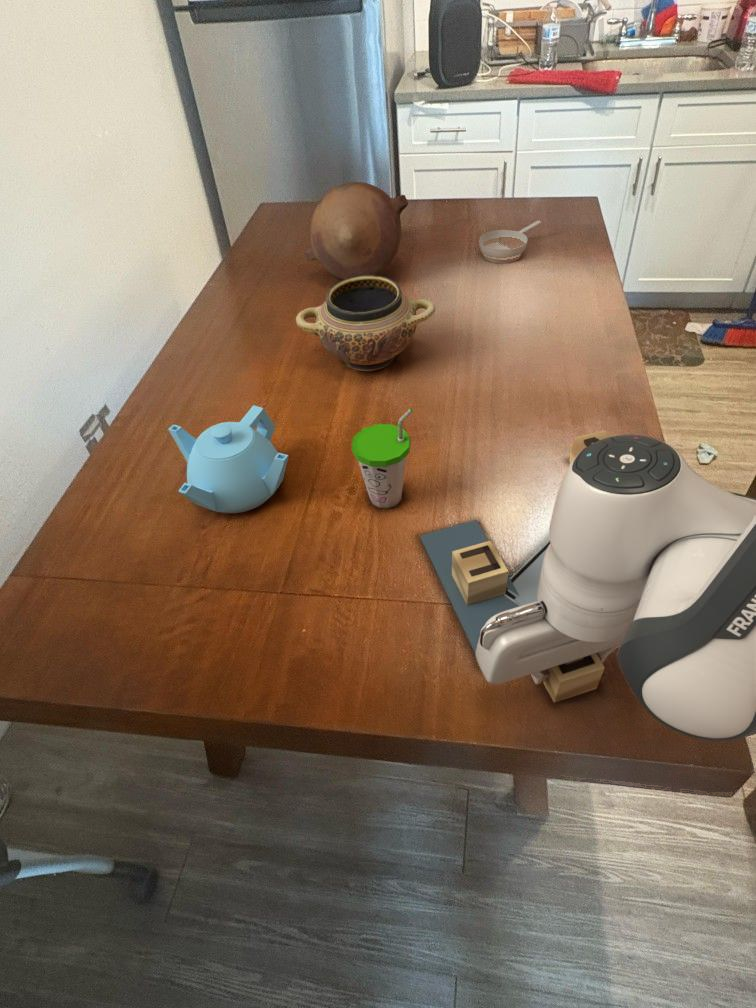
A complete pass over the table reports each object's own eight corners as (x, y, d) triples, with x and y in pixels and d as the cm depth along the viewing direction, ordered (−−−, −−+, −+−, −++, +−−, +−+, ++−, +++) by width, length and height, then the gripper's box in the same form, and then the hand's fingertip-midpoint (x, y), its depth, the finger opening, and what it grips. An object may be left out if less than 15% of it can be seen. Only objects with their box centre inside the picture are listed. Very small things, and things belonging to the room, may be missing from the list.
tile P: (618, 474, 86) (625, 449, 83) (586, 483, 86) (592, 458, 82) (599, 452, 90) (605, 428, 86) (568, 461, 89) (573, 436, 86)
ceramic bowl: (301, 392, 111) (283, 331, 98) (311, 322, 120) (296, 258, 107) (435, 390, 109) (434, 327, 96) (435, 319, 117) (435, 253, 104)
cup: (349, 509, 85) (336, 425, 75) (372, 473, 90) (363, 390, 80) (400, 523, 83) (394, 438, 72) (421, 485, 88) (418, 401, 77)
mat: (546, 644, 68) (546, 641, 68) (480, 665, 67) (480, 663, 67) (475, 522, 82) (476, 519, 81) (420, 538, 81) (420, 535, 80)
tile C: (596, 688, 64) (605, 666, 61) (553, 703, 63) (560, 681, 60) (573, 649, 68) (579, 626, 64) (531, 662, 67) (536, 640, 64)
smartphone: (616, 551, 76) (549, 625, 69) (615, 556, 77) (548, 629, 70) (565, 522, 80) (496, 590, 73) (564, 527, 81) (496, 594, 74)
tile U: (505, 594, 73) (508, 570, 69) (467, 605, 72) (468, 582, 69) (488, 563, 76) (490, 539, 73) (451, 574, 75) (452, 550, 72)
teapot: (301, 506, 87) (288, 448, 79) (197, 536, 84) (172, 480, 76) (278, 443, 97) (264, 387, 89) (184, 468, 94) (162, 413, 87)
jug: (382, 303, 127) (409, 264, 150) (399, 202, 115) (427, 178, 138) (290, 279, 129) (332, 245, 152) (298, 178, 117) (342, 157, 140)
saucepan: (468, 256, 140) (469, 239, 137) (520, 231, 147) (522, 215, 144) (504, 269, 133) (505, 252, 131) (556, 243, 141) (558, 226, 138)
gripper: (497, 653, 51) (487, 725, 61) (709, 586, 54) (668, 665, 64) (467, 595, 55) (463, 671, 65) (666, 536, 58) (633, 617, 68)
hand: (566, 667), depth 64 cm, fingers closed on tile C, 5 cm apart
